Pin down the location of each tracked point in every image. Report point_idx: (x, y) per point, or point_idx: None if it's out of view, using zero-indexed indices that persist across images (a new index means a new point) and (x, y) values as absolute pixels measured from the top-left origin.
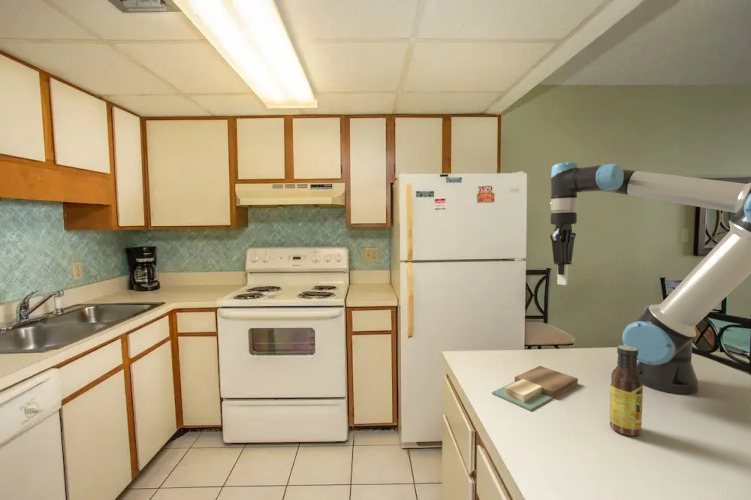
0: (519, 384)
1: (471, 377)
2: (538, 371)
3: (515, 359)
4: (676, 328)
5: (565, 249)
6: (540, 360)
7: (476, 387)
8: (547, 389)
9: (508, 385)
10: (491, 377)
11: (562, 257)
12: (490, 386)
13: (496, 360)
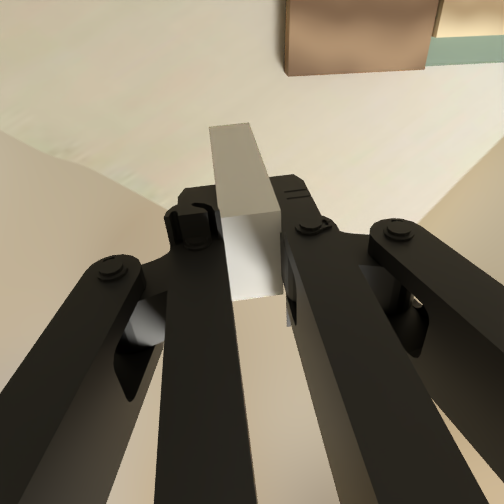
0: (480, 18)
1: (451, 158)
2: (336, 49)
3: None
4: None
5: (364, 397)
6: (199, 127)
7: (499, 110)
8: None
9: (451, 61)
10: (419, 129)
11: (424, 270)
12: (473, 93)
13: None
